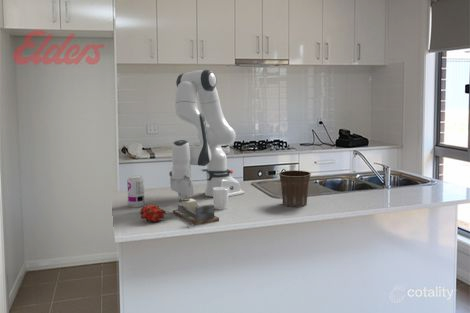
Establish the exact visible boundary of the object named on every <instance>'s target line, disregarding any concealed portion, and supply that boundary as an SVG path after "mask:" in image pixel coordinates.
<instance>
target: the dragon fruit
mask: <svg viewBox="0 0 470 313" xmlns="http://www.w3.org/2000/svg"><path fill="white" fill-rule="evenodd" d="M139 214H140V219H141V220H146V222H149V223H151V222H154V223H160V222H161V221H162V220H161V219H163V218H164V217H165V215H167V212H166V210H165V209H163V208H161V207H160V206H158V205H157V204H155V205H154V204H145V205H144V206H142V208H141V209H140V212H139Z"/></svg>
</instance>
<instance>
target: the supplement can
mask: <svg viewBox="0 0 470 313" xmlns="http://www.w3.org/2000/svg"><path fill="white" fill-rule="evenodd" d="M126 180H127V181H126V182H127V202H128V203H127V204H128V206H129V208H141V207H142V208H143V207H144V206H145V205H146V204H145V200H146V199H145V180H144V177H143V176H142V175H130V176H128V178H127V179H126Z"/></svg>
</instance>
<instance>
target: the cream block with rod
mask: <svg viewBox="0 0 470 313" xmlns="http://www.w3.org/2000/svg"><path fill="white" fill-rule="evenodd" d="M178 202H179V203H181V206H183V207H185V208H187V209H189V210H191V211H193V212H196V206H197V205H198V201H197V200H196V199H194V198H185V199H184V200H178Z"/></svg>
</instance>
